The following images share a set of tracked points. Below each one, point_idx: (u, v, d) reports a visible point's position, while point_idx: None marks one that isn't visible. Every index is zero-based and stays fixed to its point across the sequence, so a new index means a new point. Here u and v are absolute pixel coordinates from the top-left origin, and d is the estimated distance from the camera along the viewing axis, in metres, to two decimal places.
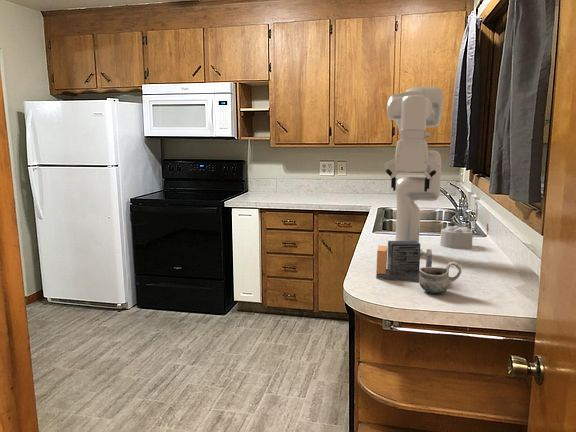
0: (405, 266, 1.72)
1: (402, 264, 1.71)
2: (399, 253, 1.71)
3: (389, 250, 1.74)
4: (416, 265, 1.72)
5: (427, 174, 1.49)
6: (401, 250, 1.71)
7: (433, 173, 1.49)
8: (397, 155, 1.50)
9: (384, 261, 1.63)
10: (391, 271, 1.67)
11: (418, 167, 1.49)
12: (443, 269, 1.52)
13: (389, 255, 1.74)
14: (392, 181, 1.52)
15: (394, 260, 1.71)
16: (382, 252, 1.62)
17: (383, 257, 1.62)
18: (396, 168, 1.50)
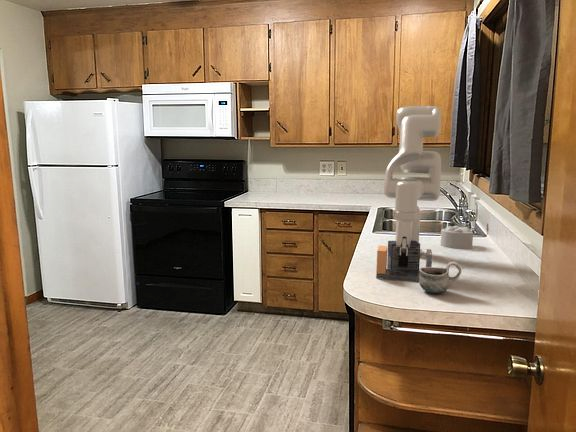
0: None
1: None
2: (399, 253, 1.71)
3: (389, 250, 1.74)
4: (416, 265, 1.72)
5: None
6: None
7: None
8: (410, 234, 1.68)
9: (384, 261, 1.63)
10: (391, 271, 1.67)
11: None
12: (443, 269, 1.52)
13: (389, 255, 1.74)
14: (405, 259, 1.69)
15: (394, 260, 1.71)
16: (382, 252, 1.62)
17: (383, 257, 1.62)
18: (409, 246, 1.69)
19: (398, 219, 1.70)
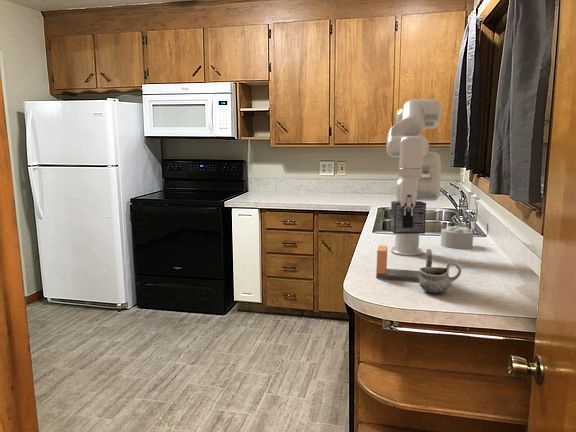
0: None
1: None
2: (403, 213, 1.59)
3: (392, 211, 1.62)
4: (422, 226, 1.60)
5: None
6: None
7: None
8: (415, 192, 1.57)
9: (384, 261, 1.63)
10: (391, 271, 1.67)
11: None
12: (443, 269, 1.52)
13: (392, 216, 1.62)
14: (410, 219, 1.58)
15: (397, 221, 1.60)
16: (382, 252, 1.62)
17: (383, 257, 1.62)
18: (414, 205, 1.57)
19: (402, 176, 1.58)
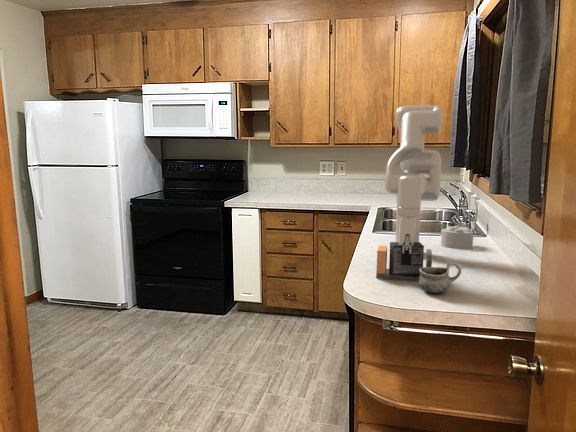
0: (407, 269, 1.62)
1: (403, 267, 1.62)
2: (401, 255, 1.62)
3: (391, 252, 1.65)
4: None
5: None
6: None
7: None
8: (414, 232, 1.58)
9: (384, 261, 1.63)
10: None
11: None
12: (443, 269, 1.52)
13: (391, 257, 1.65)
14: (408, 257, 1.59)
15: (395, 263, 1.62)
16: (382, 252, 1.62)
17: (383, 257, 1.62)
18: None
19: (401, 215, 1.60)
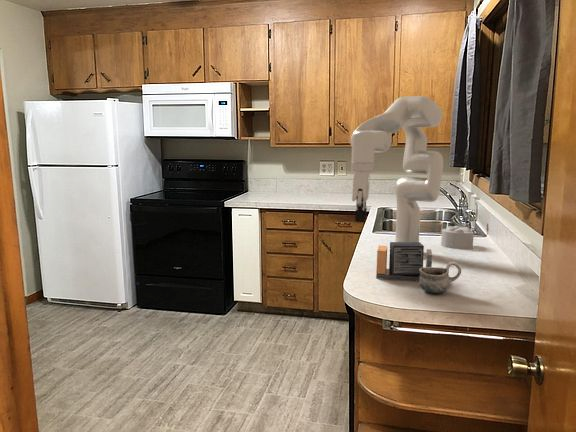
0: (407, 269, 1.62)
1: (403, 267, 1.62)
2: (401, 255, 1.62)
3: (391, 252, 1.65)
4: None
5: None
6: (403, 252, 1.61)
7: None
8: (366, 186, 1.60)
9: (384, 261, 1.63)
10: None
11: (368, 195, 1.66)
12: (443, 269, 1.52)
13: (391, 257, 1.65)
14: (362, 214, 1.62)
15: (395, 263, 1.62)
16: (382, 252, 1.62)
17: (383, 257, 1.62)
18: (366, 198, 1.60)
19: (354, 171, 1.61)
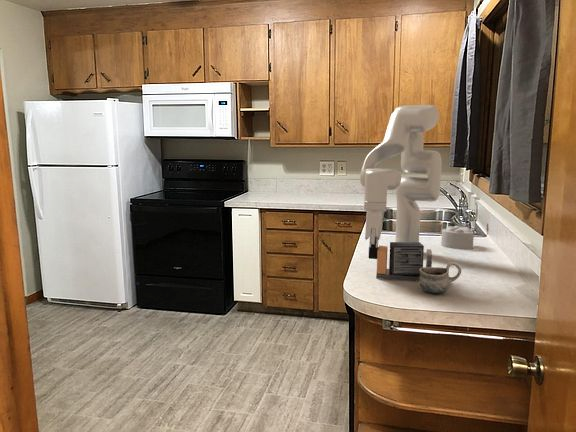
0: (407, 269, 1.62)
1: (403, 267, 1.62)
2: (401, 255, 1.62)
3: (391, 252, 1.65)
4: None
5: None
6: (403, 252, 1.61)
7: None
8: (379, 226, 1.61)
9: (384, 261, 1.63)
10: None
11: None
12: (443, 269, 1.52)
13: (391, 257, 1.65)
14: (375, 251, 1.66)
15: (395, 263, 1.62)
16: (382, 252, 1.62)
17: (383, 257, 1.62)
18: (378, 237, 1.61)
19: (367, 210, 1.62)
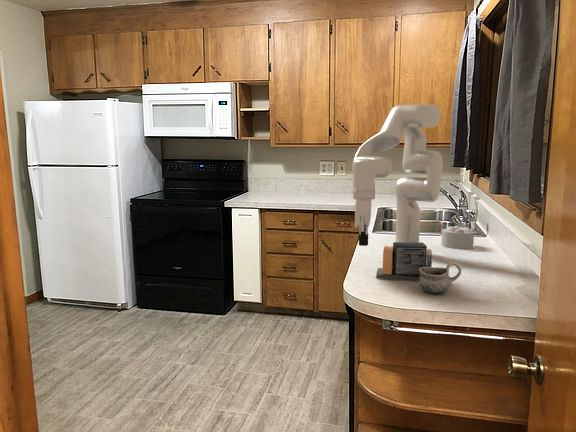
0: (409, 269, 1.62)
1: (406, 267, 1.62)
2: (404, 255, 1.61)
3: (394, 252, 1.64)
4: None
5: (367, 229, 1.71)
6: (406, 252, 1.61)
7: None
8: (368, 213, 1.64)
9: (390, 261, 1.62)
10: None
11: (370, 219, 1.71)
12: (443, 269, 1.52)
13: (393, 257, 1.65)
14: (365, 238, 1.69)
15: (398, 263, 1.62)
16: (388, 252, 1.62)
17: (389, 257, 1.62)
18: (368, 225, 1.65)
19: (356, 198, 1.65)
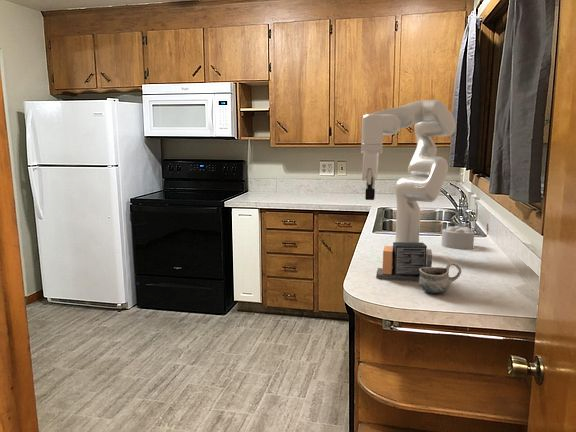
0: (409, 269, 1.62)
1: (406, 267, 1.62)
2: (404, 255, 1.61)
3: (394, 252, 1.64)
4: None
5: (374, 184, 1.76)
6: (406, 252, 1.61)
7: None
8: (375, 166, 1.69)
9: (390, 261, 1.62)
10: None
11: None
12: (443, 269, 1.52)
13: (393, 257, 1.65)
14: (372, 192, 1.74)
15: (398, 263, 1.62)
16: (388, 252, 1.62)
17: (389, 257, 1.62)
18: (375, 178, 1.70)
19: (364, 152, 1.71)
